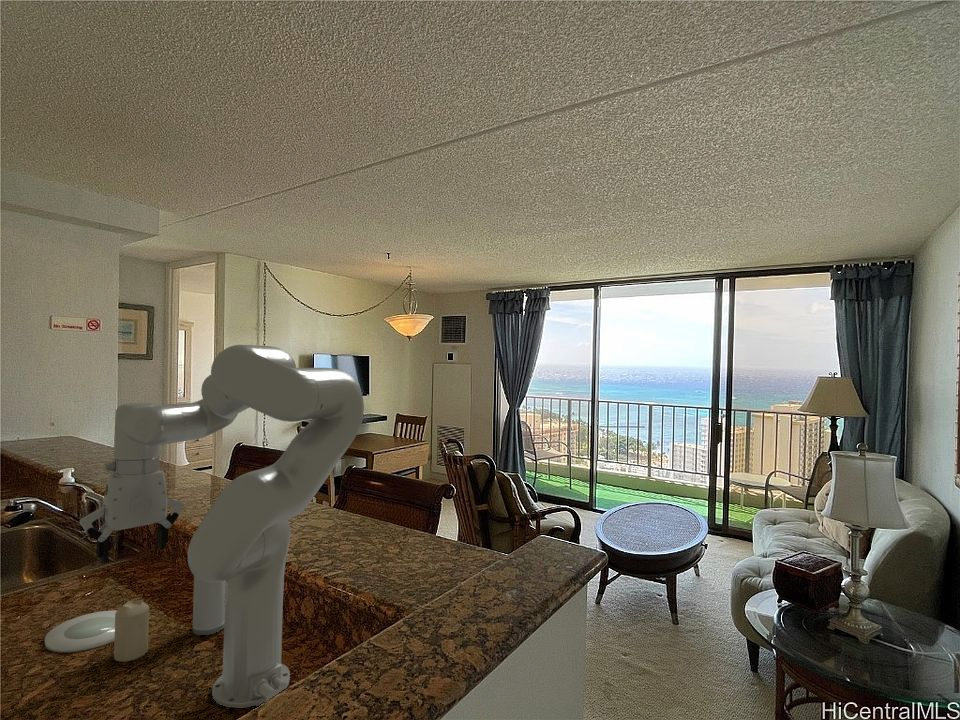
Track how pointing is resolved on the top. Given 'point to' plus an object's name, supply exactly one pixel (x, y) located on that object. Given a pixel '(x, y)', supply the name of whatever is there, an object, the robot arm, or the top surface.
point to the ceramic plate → (82, 632)
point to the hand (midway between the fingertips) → (133, 553)
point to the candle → (131, 631)
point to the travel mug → (208, 607)
